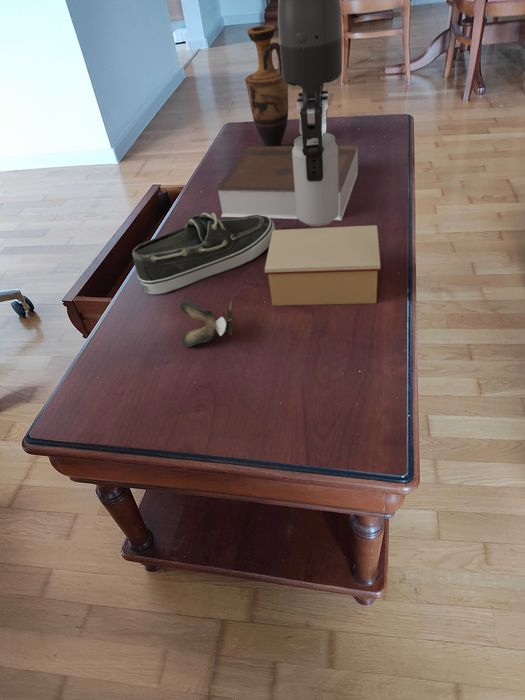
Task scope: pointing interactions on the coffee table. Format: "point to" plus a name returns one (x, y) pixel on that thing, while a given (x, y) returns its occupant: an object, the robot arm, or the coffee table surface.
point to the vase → (268, 89)
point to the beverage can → (316, 184)
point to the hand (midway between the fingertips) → (315, 169)
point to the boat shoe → (200, 250)
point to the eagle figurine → (209, 318)
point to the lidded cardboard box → (323, 265)
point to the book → (277, 182)
